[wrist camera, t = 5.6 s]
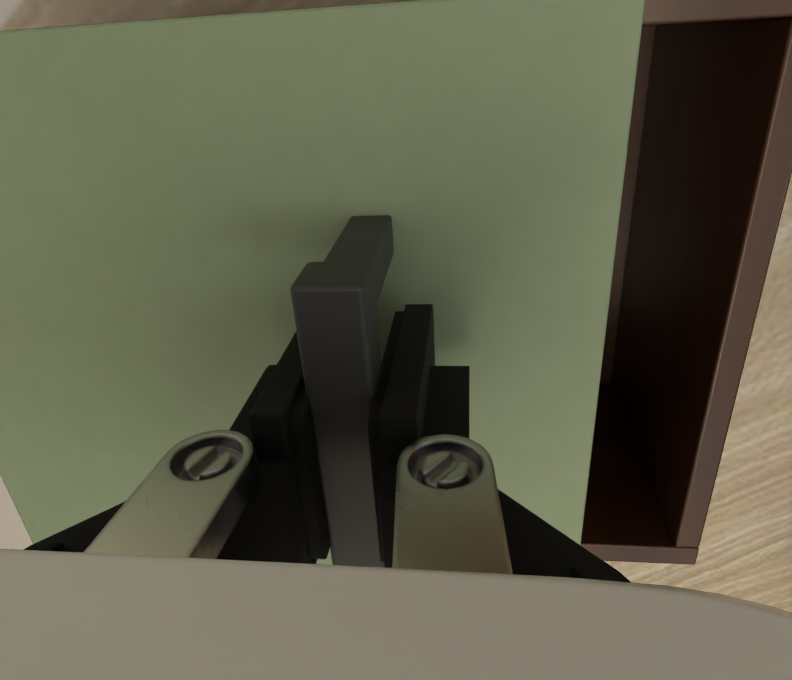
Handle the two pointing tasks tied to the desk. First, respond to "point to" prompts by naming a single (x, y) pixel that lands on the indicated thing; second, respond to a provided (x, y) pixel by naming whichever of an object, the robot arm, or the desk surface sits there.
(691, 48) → the box
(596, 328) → the lid
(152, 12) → the desk surface
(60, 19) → the desk surface
